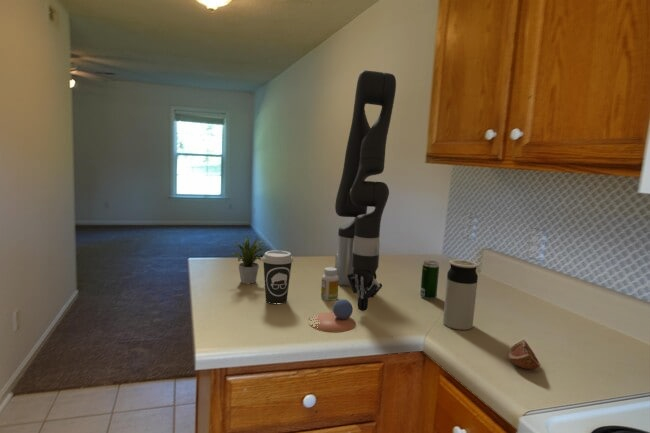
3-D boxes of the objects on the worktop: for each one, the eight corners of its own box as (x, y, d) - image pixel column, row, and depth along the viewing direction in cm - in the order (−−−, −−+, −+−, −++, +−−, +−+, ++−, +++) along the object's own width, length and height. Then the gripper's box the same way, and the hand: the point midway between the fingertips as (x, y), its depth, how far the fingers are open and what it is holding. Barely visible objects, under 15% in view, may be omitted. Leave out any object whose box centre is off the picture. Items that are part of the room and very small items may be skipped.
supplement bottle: (339, 296, 137) (341, 267, 135) (334, 302, 132) (336, 272, 130) (324, 294, 138) (325, 265, 137) (318, 299, 133) (319, 269, 132)
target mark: (299, 318, 117) (299, 317, 117) (336, 310, 125) (336, 309, 125) (326, 336, 107) (326, 335, 107) (365, 325, 114) (365, 325, 114)
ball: (348, 299, 122) (343, 318, 122) (332, 295, 120) (327, 314, 119) (358, 304, 117) (353, 323, 117) (342, 300, 115) (336, 319, 114)
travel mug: (468, 333, 113) (475, 268, 110) (439, 325, 117) (445, 262, 114) (475, 323, 119) (481, 262, 117) (447, 317, 124) (453, 257, 121)
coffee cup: (297, 299, 133) (299, 252, 131) (281, 308, 124) (283, 259, 122) (271, 293, 137) (272, 248, 134) (254, 302, 128) (255, 254, 126)
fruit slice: (541, 379, 91) (544, 357, 90) (508, 372, 93) (510, 351, 92) (536, 361, 99) (539, 341, 98) (505, 356, 101) (507, 336, 100)
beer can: (428, 300, 137) (431, 265, 135) (416, 295, 141) (419, 261, 140) (439, 298, 140) (443, 263, 138) (427, 293, 144) (430, 259, 142)
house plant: (256, 292, 138) (257, 243, 135) (219, 285, 142) (219, 238, 139) (275, 280, 151) (276, 235, 148) (240, 275, 155) (241, 231, 153)
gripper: (392, 255, 116) (387, 315, 119) (360, 245, 127) (357, 300, 129) (371, 258, 112) (367, 320, 115) (341, 248, 123) (338, 304, 125)
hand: (362, 309), depth 122 cm, fingers closed
